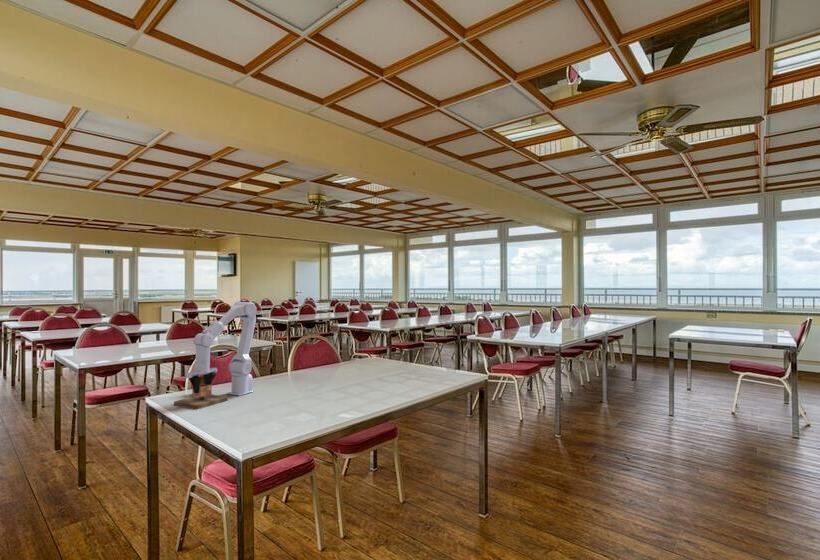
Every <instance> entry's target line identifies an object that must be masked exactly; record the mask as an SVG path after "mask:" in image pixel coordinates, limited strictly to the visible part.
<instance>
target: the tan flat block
mask: <svg viewBox="0 0 820 560" xmlns="http://www.w3.org/2000/svg"><path fill="white" fill-rule="evenodd" d="M228 399H229V398H228V396H223V395H218V394H212V393H211V394H210V395H206V396H202V397H199V396H193V395H192V396H190V397H186V398H182V399H178V400H174V401H173V406H176V407H177V406H178V407H183V408H189V409H194V410H199V409H203V408H206V407H210V406H213V405H217V404H220V403H223V402H227V401H228Z"/></svg>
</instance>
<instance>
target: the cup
mask: <svg viewBox="0 0 820 560" xmlns="http://www.w3.org/2000/svg"><path fill="white" fill-rule="evenodd" d="M198 377H199V378H201V381H200V384H205V381H204V376H203V375H200V376H198ZM213 383H214V380H213V381H212V384H211V385H212V386H213Z"/></svg>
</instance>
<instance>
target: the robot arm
mask: <svg viewBox="0 0 820 560" xmlns="http://www.w3.org/2000/svg"><path fill="white" fill-rule="evenodd" d="M257 310H258V307H257V306H256V304H255V303H254V302H252V301H245V302H244V301H236V302H235V303H234V304H232V305H231V306H230V309H228V311H227V312H226V313H225V314H223V316H222V317H221V318H220V319H219V320H218V321H217V320H216V321H211V322H210V323H209V326H207V327H205V329H203V330H202V332H201V333H197V334H196V335H195V336H194V339H192V342H193V345H194V347H195V348H194V349H195V369H194V370H193V371H190V372H186V378H187V379H188V380H189V383H190V384H191V386H192V387H193V390H194V393H198V392H199V385H200V381H201V378H199V377H200V376H204V381H205V384H208V385H211V384H212V381H213V382H214V379H215V377H216V373H218V367H211V346H213V344H214V341H215V339H216V338H217V337H219V335H220V334H221V333H222V332H224V330H225V326H227V324H229V323H230V322H231V321H232V320H234V319H235V318H237V317H239V318H240V319H241V321H242V322H243V323H242V327H241V328H242V329H241V332H240V337H239V342H238V346H237V352H236V354H235V355H233V357H231V361H230V362H229V364H228V370H229V372H230V374H231V388H230V389H231V390H230V391H229V392H226V394H227V395H233V396H240V397H241V396H244V395H247V394H250V393H253V392H255V390H253V387H254V385H253V384H254V378H253V376H252V373H251V371H252V368H253V367H252V362H253V361H252V358H251V357H250V349H251V346H252V341H253V338H254V331H255V327H256V323H257V316H256V314H257ZM210 367H211V368H210ZM212 385H213V384H212ZM192 387H191V388H192Z"/></svg>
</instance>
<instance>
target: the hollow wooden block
mask: <svg viewBox="0 0 820 560" xmlns="http://www.w3.org/2000/svg"><path fill="white" fill-rule="evenodd" d="M212 387H213V384H212V385H208V384H200V385H199V392H198V393H194V390H193V387H191V388H192V392H191V395H192V397H193V396H199V397H202V396H206V395H210V394H212V392H213V391H212V389H213V388H212Z"/></svg>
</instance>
